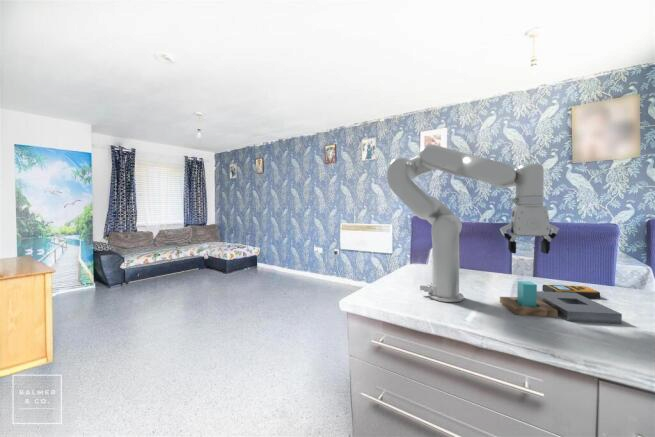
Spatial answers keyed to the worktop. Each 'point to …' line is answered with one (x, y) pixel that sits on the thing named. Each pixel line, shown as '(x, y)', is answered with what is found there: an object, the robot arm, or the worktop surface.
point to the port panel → (579, 308)
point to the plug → (527, 293)
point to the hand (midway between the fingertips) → (528, 252)
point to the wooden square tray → (528, 308)
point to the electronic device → (573, 290)
